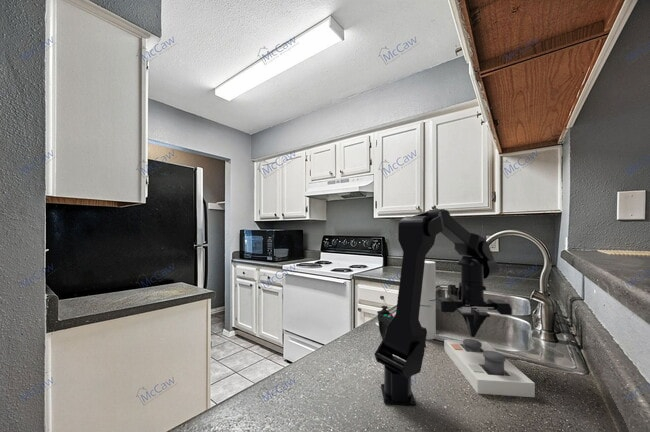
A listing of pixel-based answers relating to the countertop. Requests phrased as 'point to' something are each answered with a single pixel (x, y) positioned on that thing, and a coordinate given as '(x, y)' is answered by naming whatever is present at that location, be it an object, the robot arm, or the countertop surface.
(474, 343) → the far button
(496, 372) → the near button
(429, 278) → the cylindrical container
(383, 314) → the controller
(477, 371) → the panel
